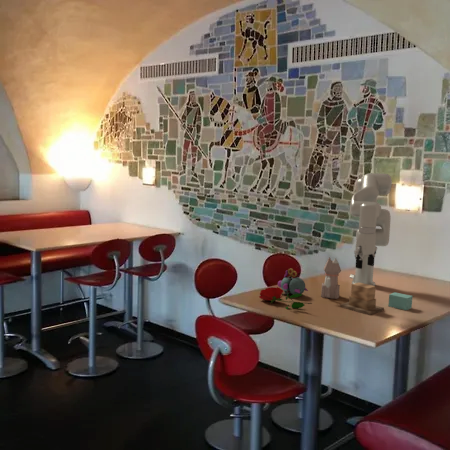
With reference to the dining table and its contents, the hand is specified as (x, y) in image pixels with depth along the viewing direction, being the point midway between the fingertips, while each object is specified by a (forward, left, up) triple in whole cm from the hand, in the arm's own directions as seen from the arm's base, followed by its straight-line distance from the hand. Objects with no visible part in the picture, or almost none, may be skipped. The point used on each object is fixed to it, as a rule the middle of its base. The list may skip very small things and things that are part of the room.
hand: (364, 266), depth 258 cm
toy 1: (-36, -8, -20) cm, 42 cm away
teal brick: (+10, +17, -20) cm, 28 cm away
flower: (-25, -26, -20) cm, 41 cm away
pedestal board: (0, 0, -20) cm, 20 cm away
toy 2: (-21, +3, -20) cm, 29 cm away
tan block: (0, 0, -15) cm, 15 cm away
